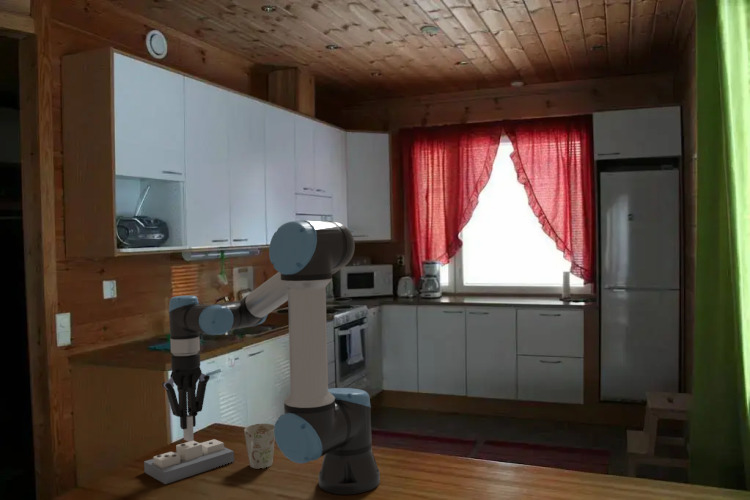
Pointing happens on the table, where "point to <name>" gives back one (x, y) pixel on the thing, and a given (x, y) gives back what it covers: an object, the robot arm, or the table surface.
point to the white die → (189, 450)
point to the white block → (212, 446)
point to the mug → (260, 445)
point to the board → (189, 466)
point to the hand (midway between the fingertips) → (188, 439)
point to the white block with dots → (166, 460)
